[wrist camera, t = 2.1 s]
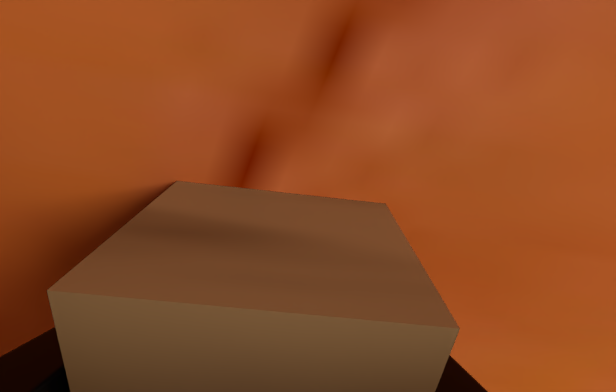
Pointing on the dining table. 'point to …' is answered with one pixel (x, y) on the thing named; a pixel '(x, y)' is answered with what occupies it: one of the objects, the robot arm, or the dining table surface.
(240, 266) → the walnut block
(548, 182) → the dining table surface
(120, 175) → the dining table surface
